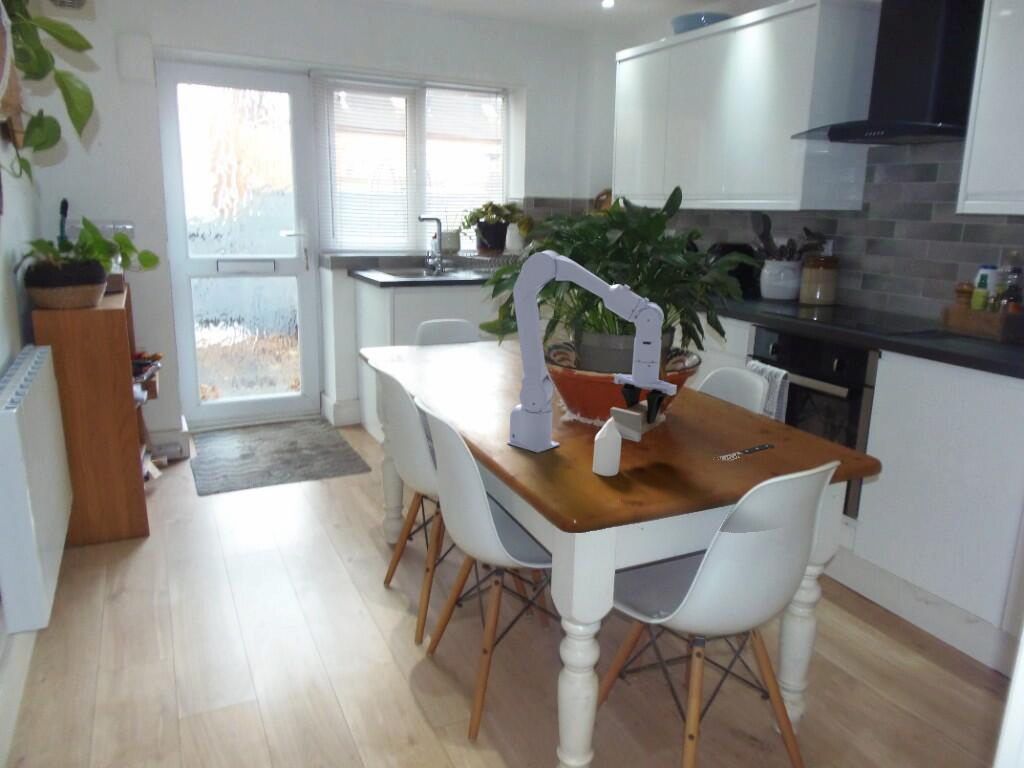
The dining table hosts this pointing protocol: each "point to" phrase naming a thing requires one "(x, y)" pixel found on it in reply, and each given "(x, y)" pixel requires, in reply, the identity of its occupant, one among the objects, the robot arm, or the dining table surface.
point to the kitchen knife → (747, 451)
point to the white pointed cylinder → (607, 450)
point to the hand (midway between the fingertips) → (642, 420)
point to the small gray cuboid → (633, 421)
